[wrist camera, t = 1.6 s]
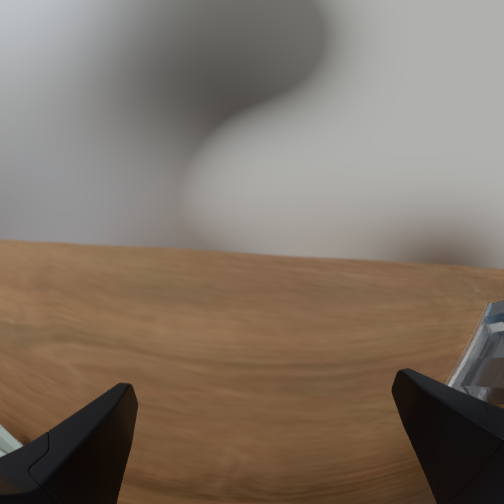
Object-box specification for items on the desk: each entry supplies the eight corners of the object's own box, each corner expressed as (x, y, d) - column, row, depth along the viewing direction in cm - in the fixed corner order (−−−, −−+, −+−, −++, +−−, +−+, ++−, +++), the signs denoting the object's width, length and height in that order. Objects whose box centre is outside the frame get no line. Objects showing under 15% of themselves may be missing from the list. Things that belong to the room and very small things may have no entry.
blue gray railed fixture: (450, 445, 19) (476, 454, 14) (421, 415, 20) (450, 424, 16) (508, 340, 23) (534, 335, 18) (486, 303, 24) (513, 295, 19)
